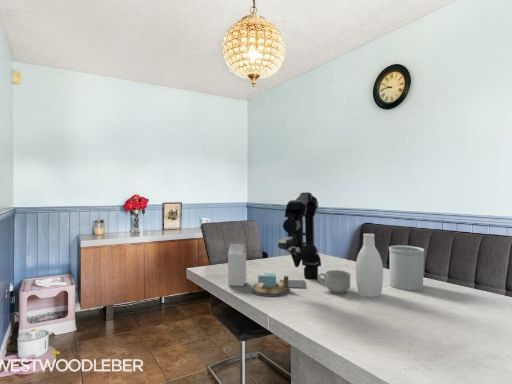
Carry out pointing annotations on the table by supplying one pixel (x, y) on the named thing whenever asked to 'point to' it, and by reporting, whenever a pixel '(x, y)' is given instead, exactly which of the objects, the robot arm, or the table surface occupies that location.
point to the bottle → (369, 269)
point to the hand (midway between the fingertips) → (296, 267)
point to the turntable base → (270, 294)
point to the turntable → (272, 290)
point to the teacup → (336, 281)
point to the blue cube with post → (268, 279)
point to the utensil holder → (406, 267)
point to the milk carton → (237, 265)
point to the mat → (295, 283)
